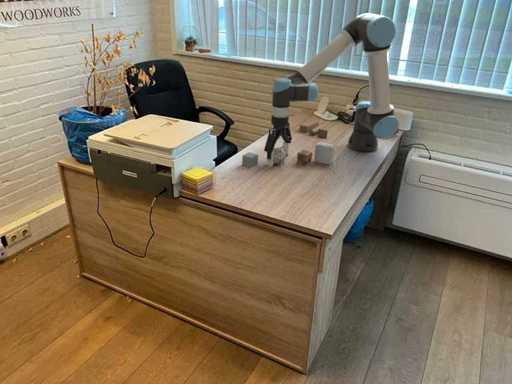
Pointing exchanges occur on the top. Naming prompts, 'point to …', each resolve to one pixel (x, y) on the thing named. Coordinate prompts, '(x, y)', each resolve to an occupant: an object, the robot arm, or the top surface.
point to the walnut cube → (304, 157)
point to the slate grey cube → (250, 160)
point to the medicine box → (324, 153)
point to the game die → (279, 155)
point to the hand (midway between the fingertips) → (277, 160)
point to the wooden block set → (314, 128)
